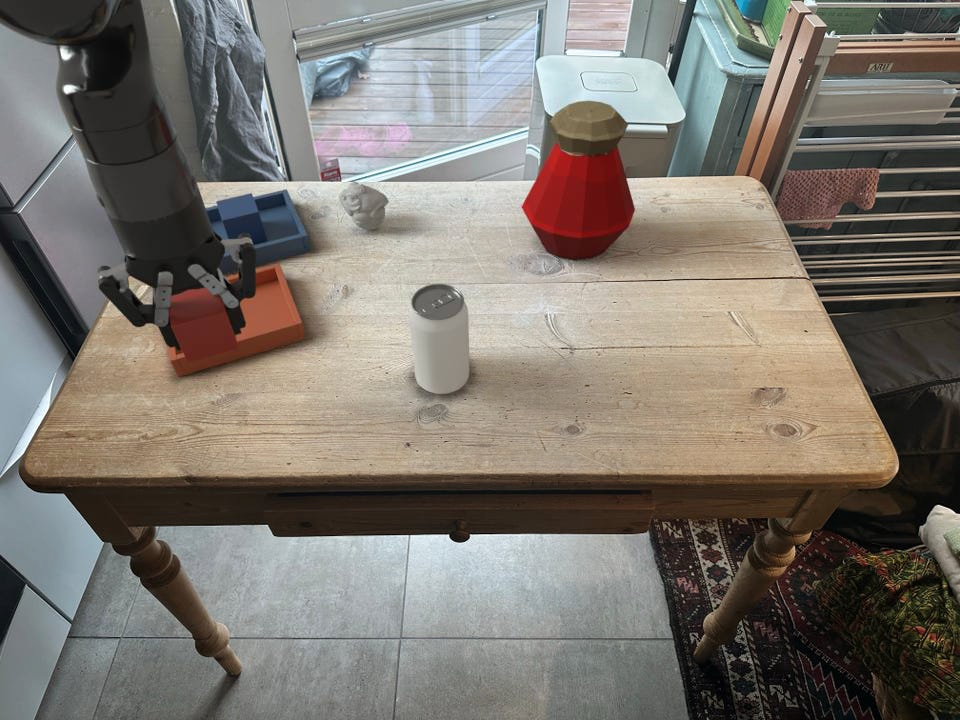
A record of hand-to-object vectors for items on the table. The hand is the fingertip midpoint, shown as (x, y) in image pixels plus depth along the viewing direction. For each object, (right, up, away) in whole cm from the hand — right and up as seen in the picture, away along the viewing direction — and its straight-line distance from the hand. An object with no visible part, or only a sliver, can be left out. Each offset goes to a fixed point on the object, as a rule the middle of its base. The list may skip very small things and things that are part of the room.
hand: (208, 336), depth 68 cm
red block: (0, 0, 0) cm, 0 cm away
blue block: (-6, +16, +29) cm, 34 cm away
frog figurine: (+11, +17, +32) cm, 38 cm away
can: (+23, -4, +12) cm, 26 cm away
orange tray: (-4, +2, +18) cm, 19 cm away
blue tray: (-6, +15, +30) cm, 34 cm away
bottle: (+41, +14, +30) cm, 53 cm away
